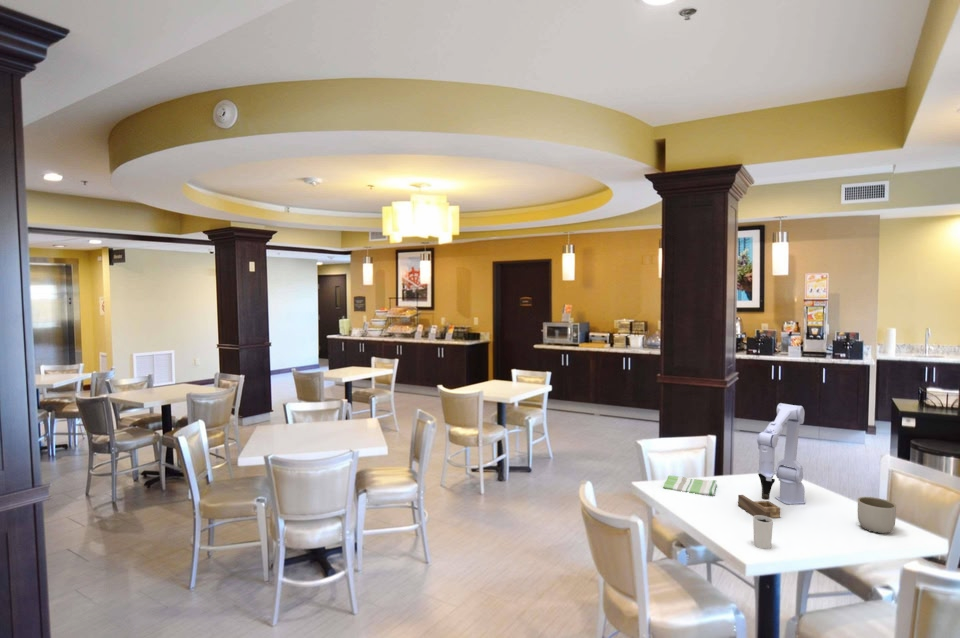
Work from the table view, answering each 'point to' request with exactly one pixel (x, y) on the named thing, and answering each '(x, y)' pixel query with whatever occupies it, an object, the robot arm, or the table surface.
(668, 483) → the dish towel
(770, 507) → the block
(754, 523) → the white cup
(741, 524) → the table surface
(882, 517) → the planter
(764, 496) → the dowel
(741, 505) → the wooden plank
